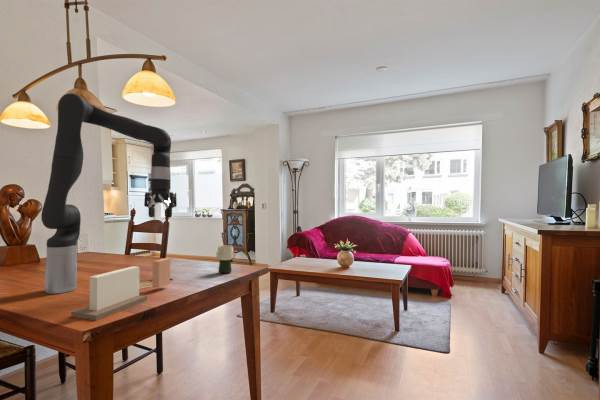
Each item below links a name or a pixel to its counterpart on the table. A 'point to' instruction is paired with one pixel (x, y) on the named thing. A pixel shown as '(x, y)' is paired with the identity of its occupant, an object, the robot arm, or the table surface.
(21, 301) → the table surface
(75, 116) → the robot arm
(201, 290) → the table surface
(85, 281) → the table surface
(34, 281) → the table surface
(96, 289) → the stand
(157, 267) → the stub
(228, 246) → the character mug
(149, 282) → the parchment
